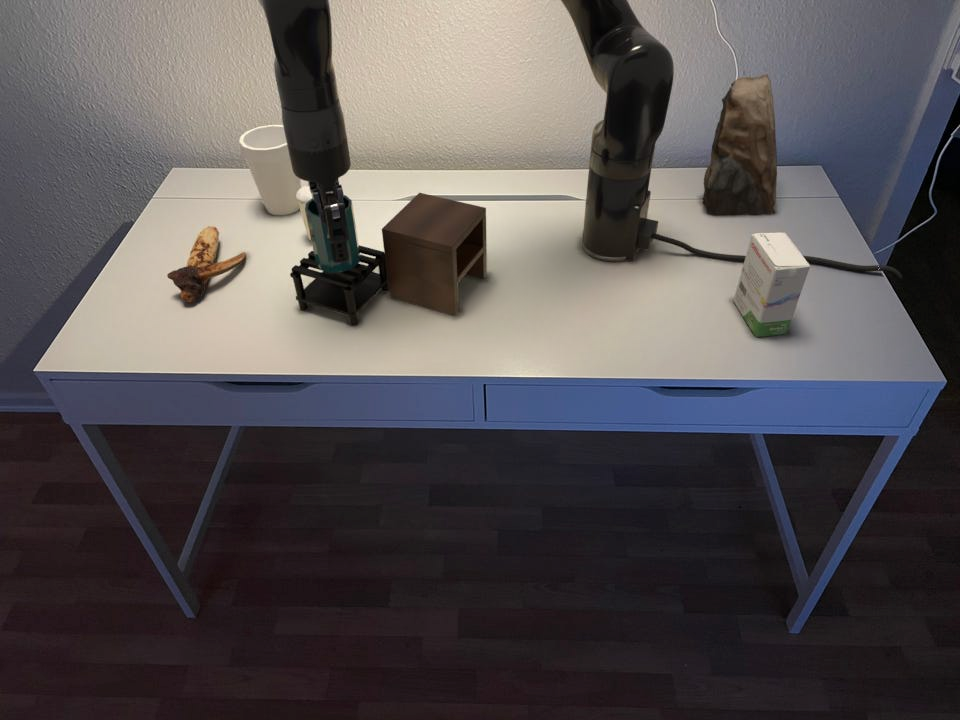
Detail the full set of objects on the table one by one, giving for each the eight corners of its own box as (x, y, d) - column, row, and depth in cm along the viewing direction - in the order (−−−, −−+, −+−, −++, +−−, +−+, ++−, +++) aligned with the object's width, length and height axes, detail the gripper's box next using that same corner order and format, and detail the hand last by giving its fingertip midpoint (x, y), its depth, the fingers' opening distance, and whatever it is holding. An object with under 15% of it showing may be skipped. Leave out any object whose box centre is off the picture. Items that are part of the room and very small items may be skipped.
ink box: (788, 335, 100) (813, 265, 92) (753, 337, 100) (776, 268, 92) (763, 297, 107) (785, 229, 99) (731, 300, 106) (750, 232, 98)
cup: (368, 253, 104) (360, 198, 98) (344, 276, 100) (334, 220, 94) (332, 244, 106) (322, 189, 100) (307, 266, 102) (296, 211, 96)
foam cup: (321, 201, 129) (308, 132, 121) (285, 225, 124) (269, 154, 115) (282, 188, 133) (267, 120, 124) (246, 210, 128) (227, 141, 119)
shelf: (487, 275, 112) (486, 207, 104) (455, 316, 105) (451, 246, 96) (424, 259, 115) (419, 192, 107) (390, 297, 108) (381, 228, 100)
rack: (391, 288, 110) (386, 249, 105) (355, 326, 103) (348, 287, 98) (336, 273, 113) (328, 235, 108) (298, 309, 106) (289, 270, 102)
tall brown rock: (701, 216, 123) (726, 102, 110) (685, 180, 133) (706, 71, 119) (775, 215, 123) (809, 100, 110) (753, 179, 133) (782, 69, 119)
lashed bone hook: (232, 307, 108) (253, 238, 121) (225, 282, 104) (247, 214, 117) (168, 308, 107) (196, 239, 120) (159, 283, 104) (189, 215, 117)
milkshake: (331, 246, 119) (321, 192, 112) (300, 243, 119) (288, 189, 113) (340, 231, 122) (331, 178, 115) (310, 228, 123) (299, 175, 116)
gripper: (358, 155, 87) (374, 269, 98) (334, 108, 97) (351, 217, 108) (295, 166, 85) (319, 281, 96) (278, 117, 95) (301, 227, 106)
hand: (336, 246), depth 102 cm, fingers closed on cup, 6 cm apart
